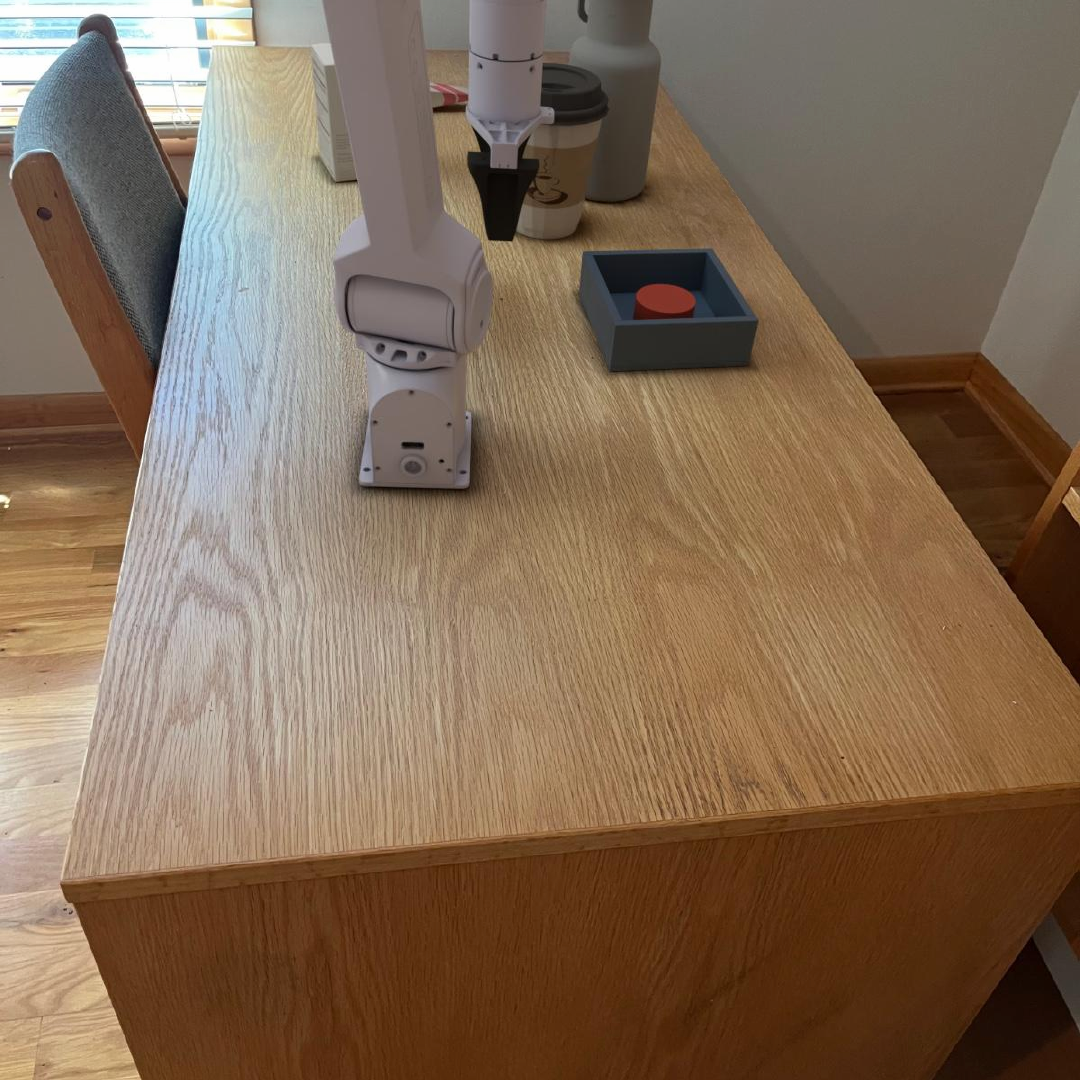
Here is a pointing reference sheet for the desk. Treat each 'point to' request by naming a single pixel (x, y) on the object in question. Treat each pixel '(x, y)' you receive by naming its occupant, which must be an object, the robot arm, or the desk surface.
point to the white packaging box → (331, 116)
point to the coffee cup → (562, 151)
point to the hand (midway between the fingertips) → (500, 219)
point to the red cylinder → (663, 303)
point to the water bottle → (620, 92)
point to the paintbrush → (447, 94)
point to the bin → (666, 343)
